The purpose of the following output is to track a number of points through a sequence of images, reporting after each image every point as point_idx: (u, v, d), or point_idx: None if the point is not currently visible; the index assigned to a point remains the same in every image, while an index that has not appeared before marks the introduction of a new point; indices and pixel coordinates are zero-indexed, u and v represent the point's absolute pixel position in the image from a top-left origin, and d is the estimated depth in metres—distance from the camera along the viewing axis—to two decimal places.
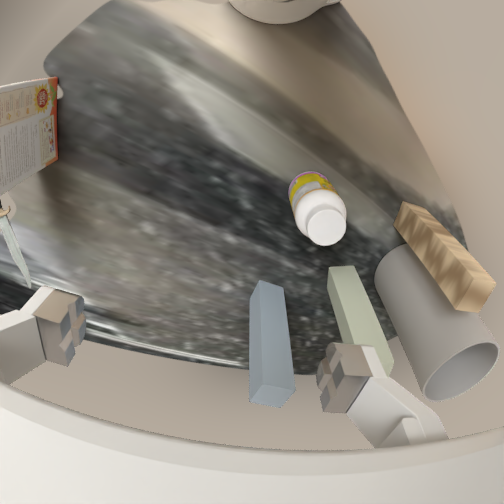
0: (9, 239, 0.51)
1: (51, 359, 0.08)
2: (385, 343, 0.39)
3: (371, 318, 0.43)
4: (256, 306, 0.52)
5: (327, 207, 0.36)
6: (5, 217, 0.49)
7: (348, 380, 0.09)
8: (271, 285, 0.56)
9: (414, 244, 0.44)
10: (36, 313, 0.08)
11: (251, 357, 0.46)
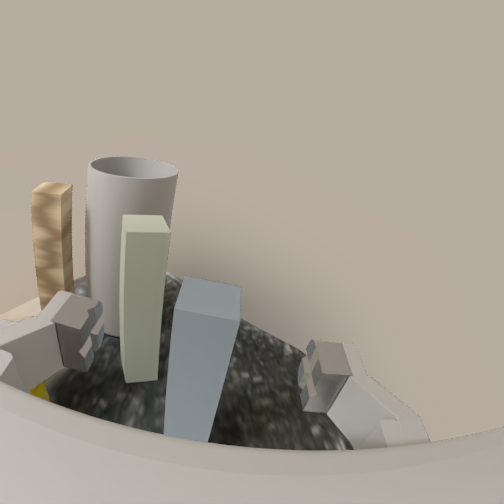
0: None
1: (69, 365, 0.08)
2: (121, 243, 0.34)
3: (120, 284, 0.36)
4: (178, 437, 0.28)
5: None
6: None
7: (327, 379, 0.08)
8: None
9: (59, 289, 0.40)
10: (55, 319, 0.08)
11: (214, 388, 0.25)
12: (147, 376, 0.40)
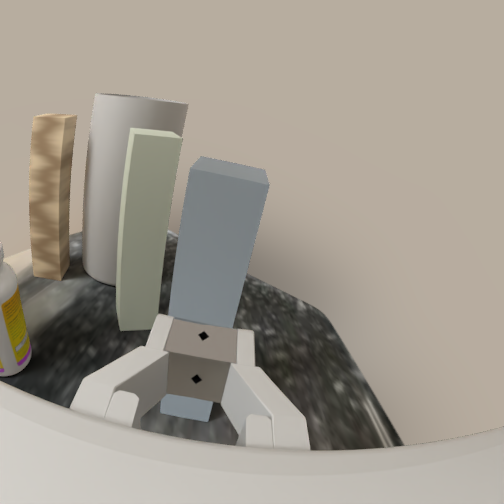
0: None
1: (172, 391, 0.09)
2: (126, 159, 0.30)
3: (121, 207, 0.32)
4: None
5: None
6: None
7: (207, 364, 0.08)
8: None
9: (53, 227, 0.36)
10: (167, 348, 0.08)
11: (230, 294, 0.21)
12: (145, 323, 0.36)
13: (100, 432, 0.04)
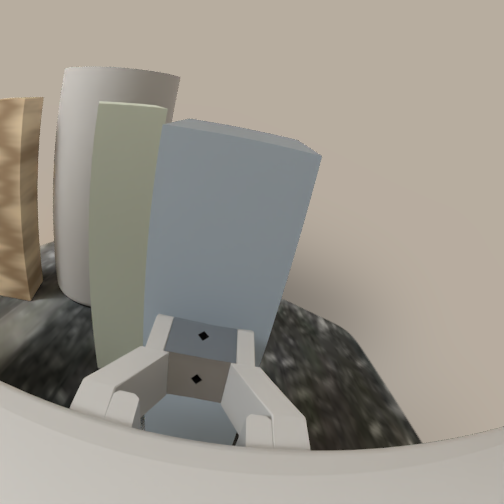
0: None
1: (171, 391, 0.09)
2: None
3: None
4: None
5: None
6: None
7: (207, 364, 0.08)
8: None
9: (16, 236, 0.27)
10: (168, 348, 0.08)
11: None
12: None
13: (100, 432, 0.04)
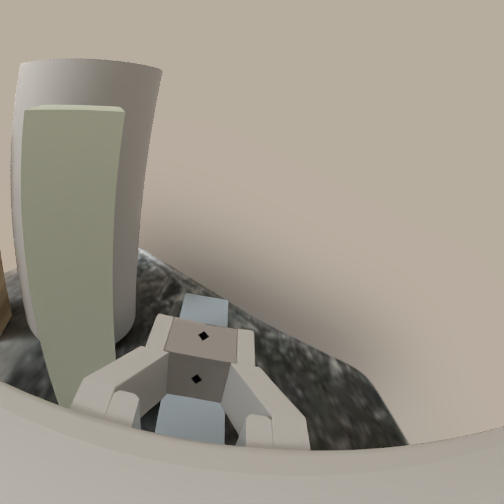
0: None
1: (171, 391, 0.09)
2: None
3: None
4: (178, 432, 0.18)
5: None
6: None
7: (207, 364, 0.08)
8: None
9: None
10: (167, 348, 0.08)
11: None
12: None
13: (100, 432, 0.04)
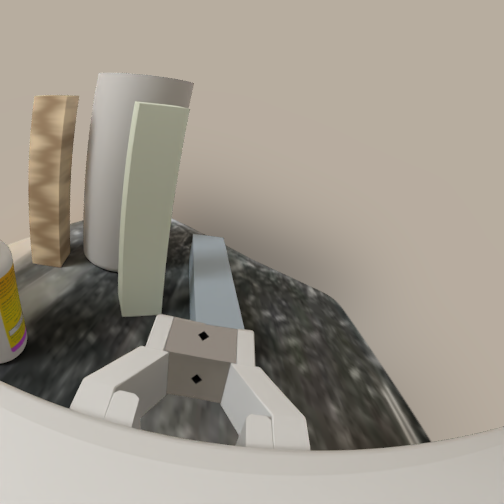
0: None
1: (171, 391, 0.09)
2: None
3: (124, 184, 0.30)
4: (209, 301, 0.33)
5: None
6: None
7: (207, 364, 0.08)
8: None
9: (52, 210, 0.34)
10: (167, 348, 0.08)
11: (223, 261, 0.41)
12: (149, 308, 0.34)
13: (100, 432, 0.04)
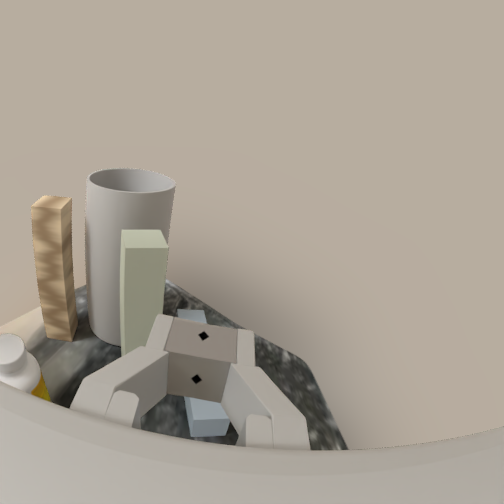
0: None
1: (172, 391, 0.09)
2: (120, 257, 0.35)
3: (120, 296, 0.37)
4: None
5: None
6: None
7: (207, 364, 0.08)
8: (191, 425, 0.35)
9: (61, 300, 0.41)
10: (167, 348, 0.08)
11: None
12: None
13: (100, 432, 0.04)
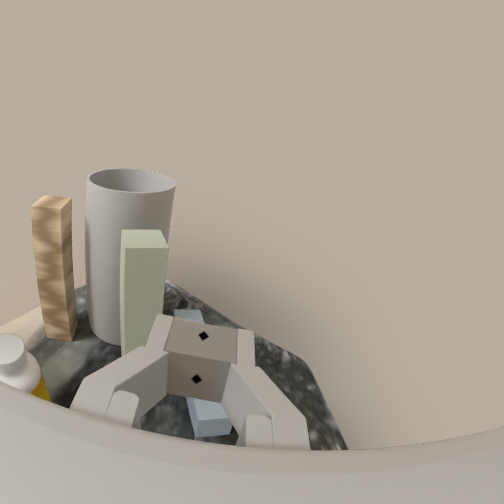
0: None
1: (171, 391, 0.09)
2: (120, 257, 0.35)
3: (120, 296, 0.37)
4: None
5: None
6: None
7: (207, 364, 0.08)
8: (196, 426, 0.35)
9: (61, 300, 0.41)
10: (167, 348, 0.08)
11: None
12: None
13: (100, 432, 0.04)
